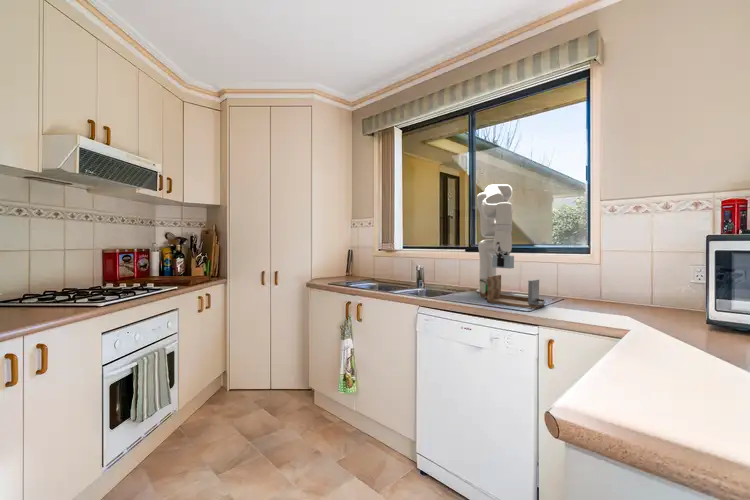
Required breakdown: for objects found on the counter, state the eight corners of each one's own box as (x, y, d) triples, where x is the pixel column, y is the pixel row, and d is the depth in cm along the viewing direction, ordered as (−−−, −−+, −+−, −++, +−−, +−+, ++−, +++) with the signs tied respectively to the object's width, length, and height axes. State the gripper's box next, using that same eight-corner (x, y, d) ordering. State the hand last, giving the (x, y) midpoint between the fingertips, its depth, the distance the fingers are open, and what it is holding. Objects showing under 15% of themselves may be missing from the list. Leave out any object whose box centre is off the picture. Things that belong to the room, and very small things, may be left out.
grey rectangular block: (496, 266, 174) (496, 254, 174) (513, 268, 168) (514, 255, 167) (492, 267, 172) (492, 255, 171) (509, 268, 165) (510, 255, 165)
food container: (497, 299, 183) (497, 280, 183) (485, 299, 183) (486, 280, 183) (490, 296, 195) (490, 278, 195) (479, 296, 195) (479, 278, 195)
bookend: (535, 301, 169) (535, 279, 168) (545, 303, 165) (545, 280, 165) (528, 304, 163) (528, 280, 162) (538, 305, 159) (538, 281, 159)
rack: (498, 299, 184) (499, 274, 183) (544, 305, 167) (544, 278, 167) (487, 302, 175) (487, 276, 175) (534, 308, 159) (534, 280, 159)
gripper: (504, 228, 177) (503, 264, 178) (487, 228, 166) (486, 266, 167) (519, 228, 172) (518, 265, 173) (502, 227, 161) (501, 267, 161)
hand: (502, 265), depth 170 cm, fingers closed on grey rectangular block, 4 cm apart
